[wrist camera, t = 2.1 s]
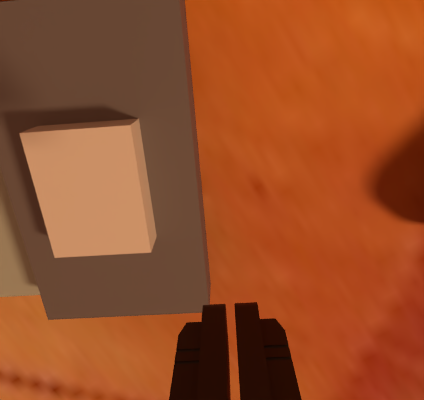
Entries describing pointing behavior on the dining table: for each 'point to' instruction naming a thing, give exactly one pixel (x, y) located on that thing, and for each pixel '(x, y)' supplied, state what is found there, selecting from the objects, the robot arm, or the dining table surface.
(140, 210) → the tile
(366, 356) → the dining table surface
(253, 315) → the robot arm
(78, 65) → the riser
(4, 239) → the mat
